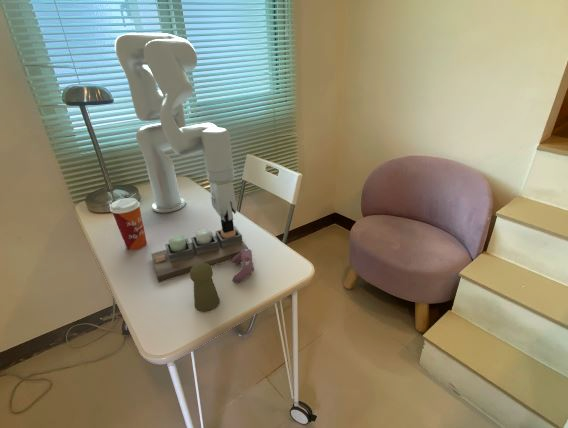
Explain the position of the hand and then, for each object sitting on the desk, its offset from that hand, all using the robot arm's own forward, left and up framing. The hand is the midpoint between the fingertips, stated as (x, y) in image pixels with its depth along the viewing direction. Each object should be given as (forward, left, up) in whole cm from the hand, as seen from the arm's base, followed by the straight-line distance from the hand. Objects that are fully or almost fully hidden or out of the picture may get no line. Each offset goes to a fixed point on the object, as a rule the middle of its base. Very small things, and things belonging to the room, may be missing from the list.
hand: (228, 230), depth 96 cm
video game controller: (+14, -1, -6) cm, 15 cm away
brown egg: (0, 0, -3) cm, 3 cm away
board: (+1, -10, -6) cm, 11 cm away
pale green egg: (0, -15, -1) cm, 15 cm away
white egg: (0, -8, -1) cm, 8 cm away
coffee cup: (-16, -26, -6) cm, 31 cm away
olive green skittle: (+21, -13, -6) cm, 26 cm away
